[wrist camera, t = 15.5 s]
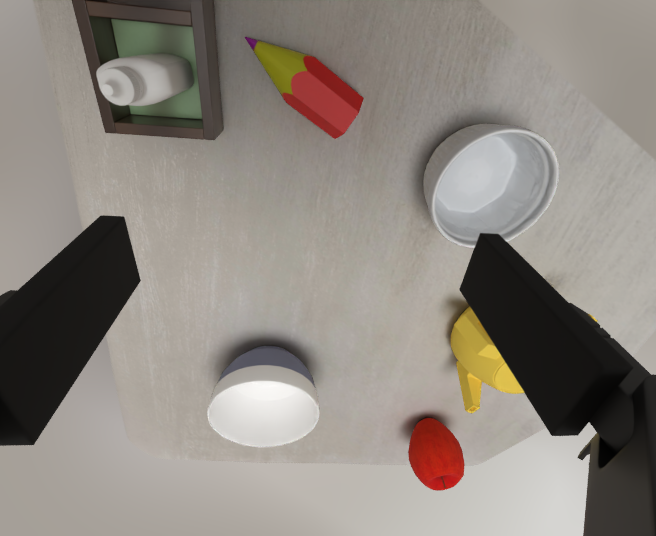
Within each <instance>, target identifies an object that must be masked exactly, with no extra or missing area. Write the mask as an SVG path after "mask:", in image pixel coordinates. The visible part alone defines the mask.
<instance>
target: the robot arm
mask: <svg viewBox="0 0 656 536" xmlns="http://www.w3.org/2000/svg"><path fill="white" fill-rule="evenodd" d="M139 282H140V277H139V273H138V269H137V265H136V261H135V257H134V253H133V249H132V245H131V242H130V238H129V234H128V230H127V226H126V222H125V218H124V217H121V216H100V217H99V218H98V219H97V220H95V221H94V222H93V223H92V224H91V225H90V226H89V227H88V228H87V229H85V230H84V231H83V232H82V233H81V234H80V235H79V236H78V237H77V238H75V239H74V240H73V241H72V242H71V243H70V244H69V245H68V246H67V247H65V248H64V249H63V250H62V251H61V252H60V253H59V254H58V255H57V256H55V257H54V258H53V259H52V260H51V261H50V262H49V263H48V264H47V265H45V266H44V267H43V268H42V269H41V270H40V271H39V272H38V273H37V274H36V275H34V276H33V277H32V278H31V279H30V280H29V281H28V282H27V283H25V285H23V286H22V287H21V288H20V289H19V290H18V291H12V290H10V291H8V292H6V293H4V294H2V295H1V296H0V445H34V443H35V442H36V440H37V439H38V437H39V436H40V434H41V433H42V431H43V430H44V428H45V426H46V425H47V423H48V422H49V420H50V419H51V417H52V416H53V414H54V413H55V411H56V410H57V408H58V406H59V405H60V403H61V402H62V400H63V399H64V397H65V396H66V394H67V393H68V391H69V390H70V388H71V387H72V385H73V384H74V382H75V381H76V379H77V377H78V376H79V374H80V373H81V371H82V370H83V368H84V367H85V365H86V364H87V362H88V361H89V359H90V358H91V356H92V354H93V353H94V351H95V350H96V348H97V347H98V345H99V343H100V342H101V341H102V339H103V337H104V336H105V334H106V333H107V331H108V330H109V328H110V327H111V325H112V324H113V322H114V321H115V319H116V318H117V316H118V315H119V313H120V311H121V310H122V308H123V307H124V305H125V304H126V302H127V301H128V299H129V298H130V296H131V295H132V293H133V292H134V290H135V288H136V287H137V285H138V284H139ZM460 291H461V293H462V294H463V296H464V298H465V299H466V301H467V302H468V304H469V306H470V307H471V309H472V310H473V312H474V313H475V315H476V317H477V318H478V320H479V321H480V323H481V325H482V326H483V328H484V329H485V331H486V332H487V334H488V336H489V337H490V339H491V340H492V342H493V344H494V345H495V347H496V348H497V350H498V351H499V353H500V355H501V356H502V358H503V359H504V361H505V362H506V364H507V366H508V367H509V369H510V370H511V372H512V374H513V375H514V377H515V378H516V380H517V381H518V383H519V385H520V386H521V388H522V389H523V391H524V393H525V394H526V396H527V397H528V399H529V400H530V402H531V404H532V405H533V407H534V408H535V410H536V412H537V413H538V415H539V416H540V418H541V419H542V421H543V423H544V424H545V426H546V427H547V429H548V430H549V432H550V434H551V435H552V436H569V435H578V434H579V433H580V432H581V431H582V429H583V428H584V427H585V426H586V425H587V423H588V422H590V423H591V425H592V426H593V427H594V429H595V430H596V432H597V434H596V435H595V436H594V437H593V438H592V439H591V440H590V442H589V443H588V444H587V445H586V446H585V447H584V448H583V450H582V451H581V452H580V454H579V456H578V458H579V459H581V460H583V459H584V458H585V456H586V455H588V454H590V462H589V475H588V487H587V498H586V510H585V522H584V535H583V536H656V375H651V374H650V373H649V372H648V371H647V370H646V369H645V368H644V367H643V366H641V364H639V362H637V361H636V360H635V359H634V358H633V357H632V356H631V355H630V354H629V353H628V352H627V351H626V350H625V349H624V348H623V347H622V346H621V345H620V344H619V343H618V342H617V341H616V340H615V339H614V338H610V335H609V334H608V333H607V332H606V331H605V330H604V329H603V328H600V325H599V324H598V323H597V322H596V321H595V320H594V319H593V318H592V317H591V316H590V315H589V314H587V313H586V312H584V311H583V310H581V309H580V308H578V307H576V306H575V305H573V304H572V303H568V302H567V301H566V300H565V299H564V298H563V297H562V296H561V295H560V294H559V293H558V292H557V291H556V290H555V289H554V288H553V287H552V286H551V285H550V284H549V283H548V282H547V281H546V280H545V279H544V278H543V277H542V276H541V275H540V274H539V273H538V272H537V271H536V270H535V269H534V268H533V267H532V266H531V265H530V264H529V263H528V262H527V261H526V260H525V259H524V258H523V257H522V256H521V255H520V254H519V253H518V252H516V251H515V250H514V249H513V248H512V247H511V246H510V245H509V244H508V243H507V242H506V241H505V240H504V239H503V238H502V237H501V236H500V235H499V234H492V233H480V234H479V237H478V240H477V243H476V245H475V248H474V251H473V254H472V256H471V259H470V262H469V265H468V267H467V270H466V273H465V276H464V279H463V281H462V284H461V287H460Z"/></svg>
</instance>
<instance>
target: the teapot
mask: <svg viewBox="0 0 656 536" xmlns="http://www.w3.org/2000/svg"><path fill="white" fill-rule="evenodd" d="M589 315H590V314H589ZM590 316H591V317H592V318H593V319H594V320H595V321H596V322H597V320H596V319H595V318H594V317H593V316H592V315H590ZM454 325H455V326H454V328H453V330H452V333H451V348H452V351H453V353H454V355H455V356H456V358H457V359H458V361H457V363H456V365H457V370H458V375H459V380H460V385H461V390H462V396H463V401H464V406H465V410H466V411H467V412H469V413H474V412H475V411H476V410H478V409H479V408H480V406H479V405H480V395H481V384H482V382H484V383H486V384H488V385H489V386H491V387H493V388H495V389H498V390H500V391H502V392H506V393H512V394H518V393H524V391H523V389H522V388H521V386H520V385H519V383H518V381H517V380H516V378H515V377H514V375H513V374H512V372H511V370H510V369H509V367H508V366H507V364H506V362H505V361H504V359H503V358H502V356H501V355H500V353H499V351H498V350H497V348H496V347H495V345H494V344H493V342H492V340H491V339H490V337H489V336H488V334H487V332H486V331H485V329H484V328H483V326H482V325H481V323H480V321H479V320H478V318H477V317H476V315H475V313H474V312H473V310H472V309H471V307H470V306H469V307H468V308H467V309H466V310H465V311H464V312H463V313H462V314H461V316H460V317H459V319H458V320H457V322H456V323H455V324H454Z"/></svg>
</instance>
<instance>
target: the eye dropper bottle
mask: <svg viewBox="0 0 656 536" xmlns="http://www.w3.org/2000/svg"><path fill="white" fill-rule="evenodd" d="M96 76H97V80H98V83H99V87H100V90H101V92H102V93H103V95H104V96H105V98H107V100H109V101H110V102H112V103H114V104H116V105H119V106H124V105H125V106H126V105H131V106H146V105H151V104H155V103H158V102H161V101H163V100H166V99H168V98H170V97H172V96H174V95H177V94H179V93H181V92H183V91H185V90H187V89H189V88H190V87H192V86H193V84H194V78H193V73H192V69H191V65H190V63H189V62H188V61H187V60H186V59H184V58H182V57H179V56H176V55H172V54H165V53H155V54H146V55H138V56H130V57H123V58H118V59H114V60H111V61H109V62H107V63H105V64H103V65H102V66H100V67H99V68H98V70H97V72H96Z"/></svg>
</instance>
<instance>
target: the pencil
mask: <svg viewBox="0 0 656 536" xmlns="http://www.w3.org/2000/svg"><path fill="white" fill-rule="evenodd" d="M245 39H246V40H247V42H248V43H249V45H250V46H251V48H252V50H253V51H254V53H255V54H256V56H257V57H258V59H259V61H260V62H261V64H262V65H263V67H264V68H265V70H266V72H267V73H268V75H269V76H270V78H271V79H272V81H273V83H274V84H275V86H276V87H277V89H278V90H279V92H280V94H281V95H282V97H283V98H284V100H285V101H286V103H288V104H289V105H290V106H292V107H293V108H294V109H296V110H297V111H298V112H300V113H301V114H302V115H304V116H305V117H306V118H308V119H309V120H310V121H312V122H313V123H314V124H316V125H317V126H318V127H320V128H321V129H322V130H324V131H325V132H326V133H328V134H329V135H330V136H332V137H333V138H334V139H336V138H337V137H339V136H341V135H343V134H344V133H345V132H346V130H347V129H348V127H349V126H350V124H351V123H352V122H353V120H354V119H355V117H356V116H357V115H358V113H359V111H360V108H361V105H362V102H363V97H362V96H360V95H359V94H358V93H357V92H356V91H354V90H353V89H352V88H351V87H350V86H348V85H347V84H346V83H345V82H344V81H342V80H341V79H340V78H339V77H338V76H336V75H335V74H334V73H333V72H332V71H330V70H329V69H328V68H327V67H326V66H324V65H323V64H322V63H321V62H320V61H318V60H317V59H316V58H315V57H313V56H309V55H306V54H302V53H299V52H296V51H292V50H289V49H285V48H282V47H279V46H275V45H272V44H268V43H265V42H262V41H258V40H255V39H251V38H248V37H245Z"/></svg>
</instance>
